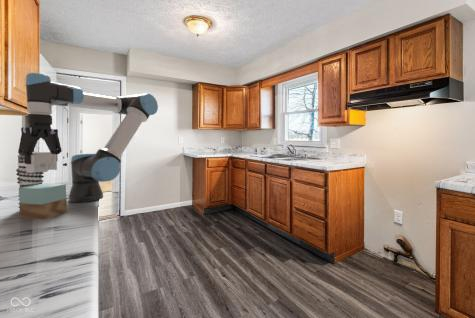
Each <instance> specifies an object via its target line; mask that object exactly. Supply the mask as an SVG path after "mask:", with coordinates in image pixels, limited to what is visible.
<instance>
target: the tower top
mask: <svg viewBox="0 0 475 318" xmlns="http://www.w3.org/2000/svg"><path fill="white" fill-rule="evenodd" d="M18 195H19V196H18V199H19V200H18V204H19V203H23V204H40V205H43V204H47V203H51V202H54V201H58V200H62V199H66V200H67V184H66V183H65V184H64V183H44V182H43V183H42V184H38V185H32V186H27V187H21V188H20V187H18Z"/></svg>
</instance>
